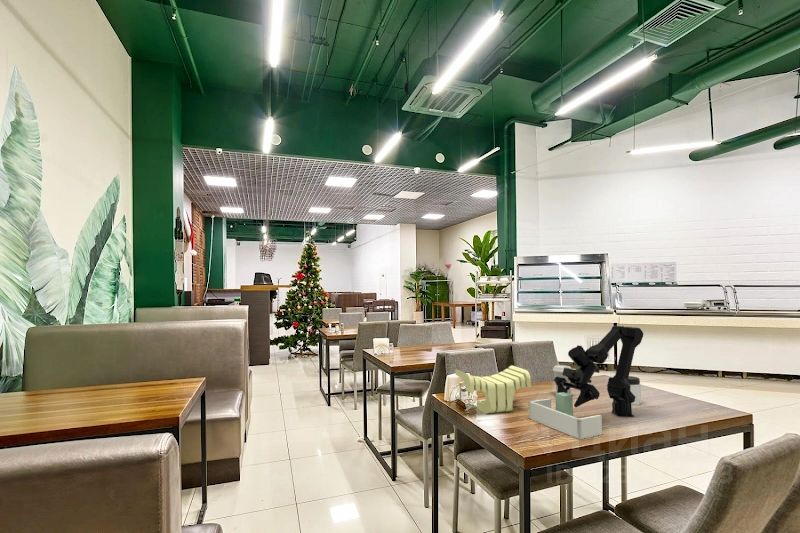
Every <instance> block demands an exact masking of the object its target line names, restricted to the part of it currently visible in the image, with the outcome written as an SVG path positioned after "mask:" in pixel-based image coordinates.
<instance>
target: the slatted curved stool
mask: <svg viewBox="0 0 800 533" xmlns="http://www.w3.org/2000/svg"><path fill="white" fill-rule="evenodd" d="M455 376H457V377H459V378H460V379H461V380H462V381H463V383H464V385H465V391H466V392H468V393H469V394H471V393H474V392H482V393H483V396H484V398H485V400H476V401H477V408H476V409H477V410H479V411H480V412H482V413H484V414H493V413H503V412H513V410H514V408H513V402H514V397H515V393H516V392H517V391H518V390H519V389H521V388H522V389H523V388H529V389H531V388H532V379H531V374H530V372H529V371H528V370H527V369H525V368H522V367H518V366H515V365H510V366H508V367H507V368H505V369H504V370H503V371H499V372H498V374H497V373H495V374H492V375H489V376H488V375H487V376H486V375H485V376H477V375H471V374H468V373H465V372H464V371H461V370H459V369H457V368H455ZM515 391H516V392H515Z"/></svg>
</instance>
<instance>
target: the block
mask: <svg viewBox="0 0 800 533" xmlns="http://www.w3.org/2000/svg"><path fill="white" fill-rule="evenodd" d="M554 398H555V400H554V401H555V410H556V411H559V412H562V413H565V414H567V415H570V416H573V417H574V409H573V408H574V407H573V406H574V404H573V394H572V393H571V394H568V393H565V392H561V393H556V392H555V393H554Z"/></svg>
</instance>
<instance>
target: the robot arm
mask: <svg viewBox="0 0 800 533" xmlns="http://www.w3.org/2000/svg"><path fill="white" fill-rule="evenodd" d="M643 337H644V331H643V330H642V329H641V328H640V327H633V326H623V325H613V326H612V327H611V328H610V331H609V332H608V333H606V334H605V336H604V337H603V338H602V339H601V340H600V341H599V342H598V343H596V344H593V345H591V346H589V347H588V348H587V349H586V350H585V349H584V347H583V345H578V344H577V345H576V347H572V348H571V349H570V350H569V351H568V352H567V355H568V357H569V359H571V361H573V363H574V364H575V365H576V366H577V367H578V368H575V369H573V368H571V369H569V368H564V370H563V374H562V375H563V376H566V377H568V380H569V381H570V382H567V380H566V379H565V378H563V377H559V376H558V377H556V378H555V377H554V379H553V382H554V383H556V385H557V387H558V390H557V393H561V392H565V393H567V392H568V391H567V390H569V389H570V388H571V389H574V390H577V391H579V392H580V393H579V395H578V397H577V399H576V400H575V402H574V404H573V406H574V407H575V408H578V407H580V406H581V405H583V404H586V403H587V402H591V401H594V400H598V399H599V397H600V391H599V390H598V389H597V388H596V386H595V385H594V384H591V383H592V380H591V379H592V377H593V376H594V374H595V373H600V369H599V365H596V364H600V365H602V364H604V363H605V362H606V361H607V360H608V358H609V352H610V350H612V348H613V347H614V346H615V345H616V344H617V342H619V341H620V342H621V343H622V345H621V349H620V354H619V359H618V362H617V367H616V370H615V375H613V376H612V377H611V376H609V378H608V379H607V380H608V381H607V383H606V390H607V394H608V396H609V399H612V402H611V405H612V406H611V407H612V408H611V409H612V410H611V413H613V414H614V415H616V416H617V417H631V418H633V417H635V416H634V414H633V411H632V410H633V409H632V405H631V403H633V402H635V396H634V395H633V394H632V392H631V391H630V388H631V386H630V383H629V381H628V377H629V376H630V372H631V368H632V363H633V359H634V355H635V350H636V348H637V347H638V346H639V345H640V344H641V343H642V340H643ZM556 385H555V386H556Z"/></svg>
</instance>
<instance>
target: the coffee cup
mask: <svg viewBox="0 0 800 533" xmlns="http://www.w3.org/2000/svg"><path fill="white" fill-rule="evenodd" d="M564 368H569V369H572V367H571V366H569V365H565V364H563V365H562V364H558V365H557V364H556V365H554V367H553V368H552V371H553V375H554V376H553V377H554V379H555V378H556V377H558V376H559V377H563V378H565V379H566V380H567V382H570V381H569V380H568V377H566V376H563V375H562V374H563V370H564ZM554 383H555V382H554ZM554 385H555V391H556V392H555V393H557V390H558V387H557V385H556V383H555V384H554ZM571 390H572V388H570V389H569V390H567V391H568V392H567V393H568V394H571V395H572V393H571V392H572V391H571Z"/></svg>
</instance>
